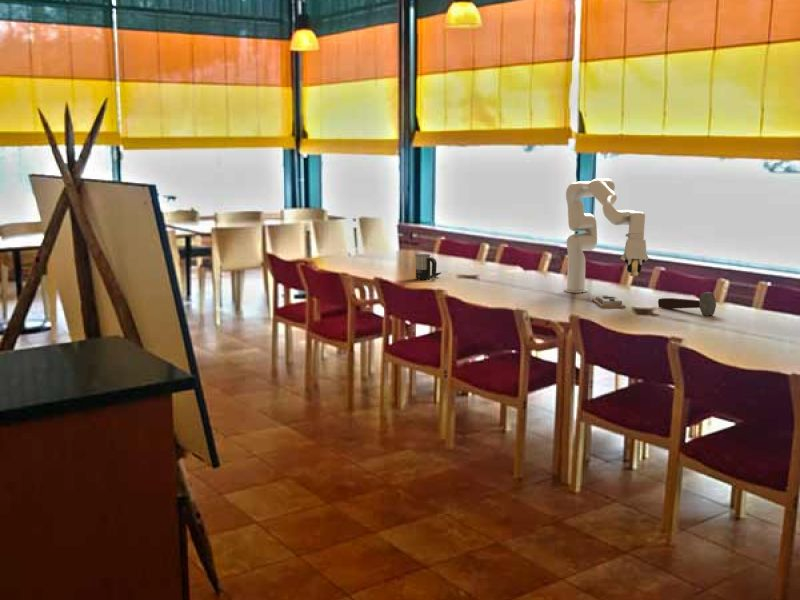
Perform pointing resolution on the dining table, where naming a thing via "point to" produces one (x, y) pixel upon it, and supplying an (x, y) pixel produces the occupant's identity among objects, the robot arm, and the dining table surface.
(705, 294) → the hammer
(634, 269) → the pin
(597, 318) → the dining table surface
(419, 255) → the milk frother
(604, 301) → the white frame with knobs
